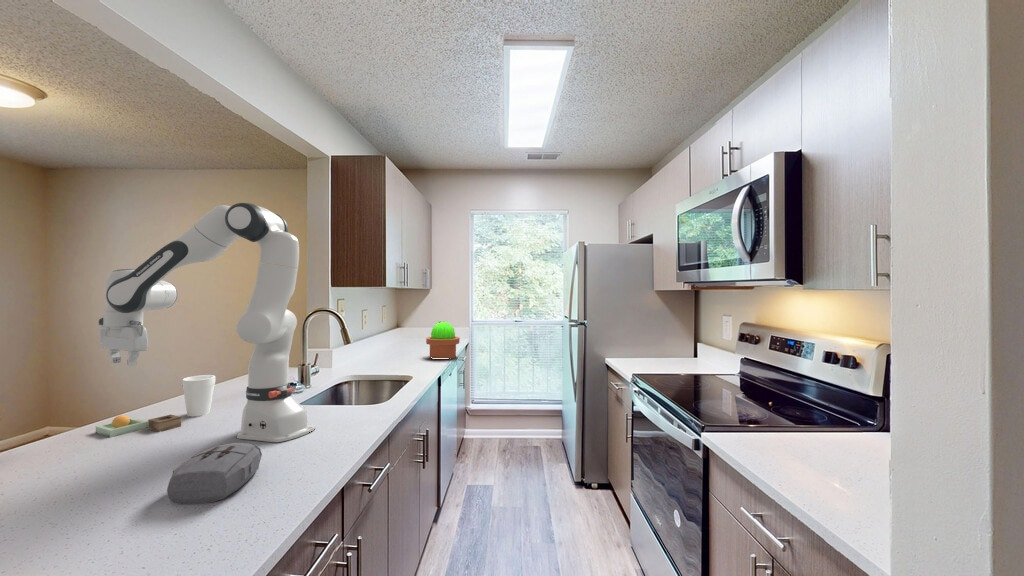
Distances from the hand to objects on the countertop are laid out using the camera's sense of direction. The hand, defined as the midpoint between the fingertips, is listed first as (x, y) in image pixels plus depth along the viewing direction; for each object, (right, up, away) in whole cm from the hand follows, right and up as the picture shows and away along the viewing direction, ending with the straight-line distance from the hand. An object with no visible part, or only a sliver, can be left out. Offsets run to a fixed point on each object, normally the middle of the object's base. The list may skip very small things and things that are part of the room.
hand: (123, 364), depth 126 cm
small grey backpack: (+55, -22, -34) cm, 68 cm away
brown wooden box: (+11, -21, +3) cm, 24 cm away
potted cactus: (+76, -23, +142) cm, 162 cm away
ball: (-1, -18, 0) cm, 18 cm away
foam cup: (+10, -21, +17) cm, 29 cm away
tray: (0, -21, 0) cm, 21 cm away
